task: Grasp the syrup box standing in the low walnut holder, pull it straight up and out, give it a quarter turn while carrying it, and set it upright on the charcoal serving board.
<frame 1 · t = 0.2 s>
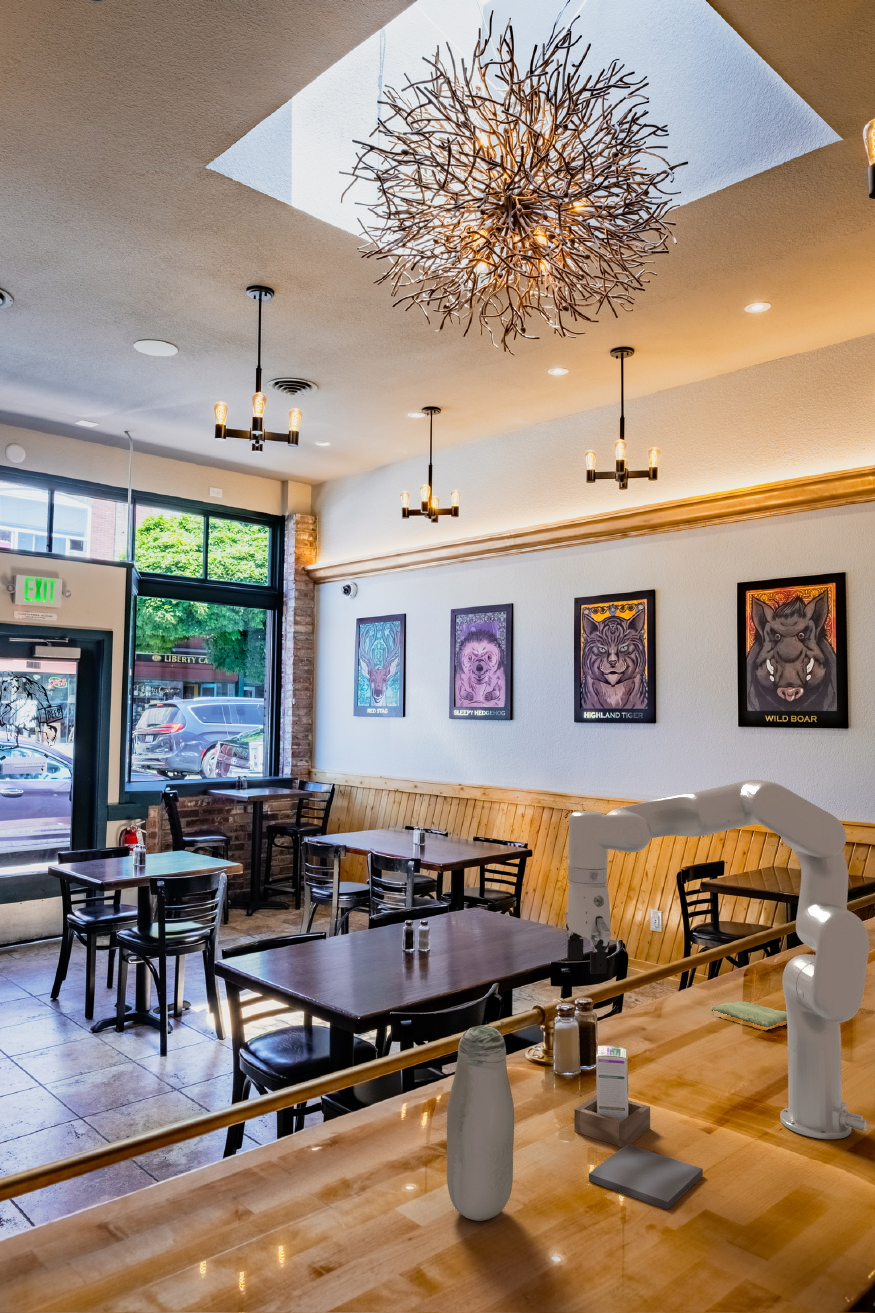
hand: (586, 966, 173), 30 cm above the bar counter, tool pointing down, fingers open, 9 cm apart
washcloth: (750, 1021, 236), on the bar counter
serving board: (646, 1178, 152), on the bar counter
white bottle: (479, 1215, 140), on the bar counter
syrup box: (612, 1131, 170), resting in walnut holder
walnut holder: (612, 1130, 170), on the bar counter
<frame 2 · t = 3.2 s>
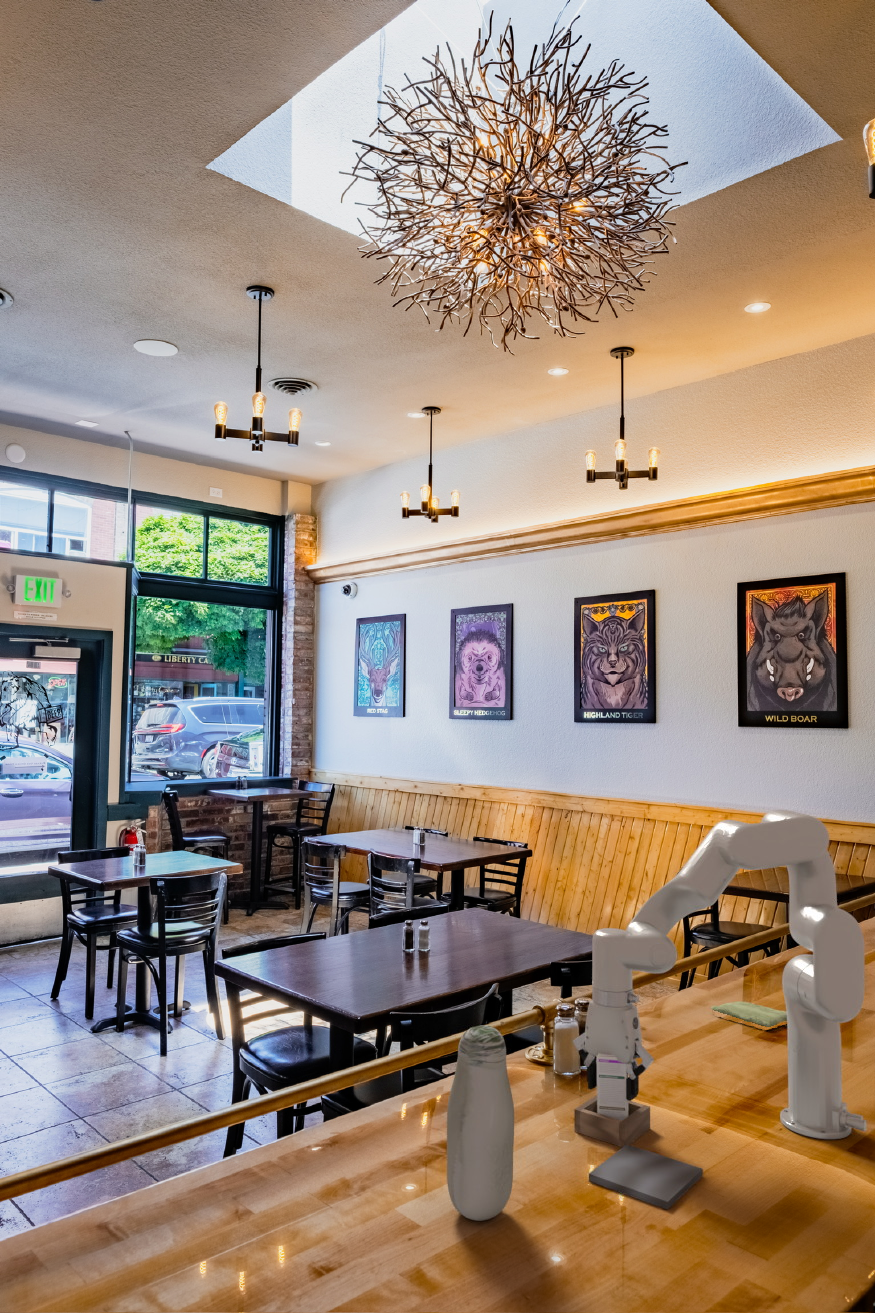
hand: (612, 1092, 170), 7 cm above the bar counter, tool pointing down, fingers closed on syrup box, 7 cm apart
syrup box: (612, 1131, 170), resting in walnut holder, touching gripper
everything else where it was.
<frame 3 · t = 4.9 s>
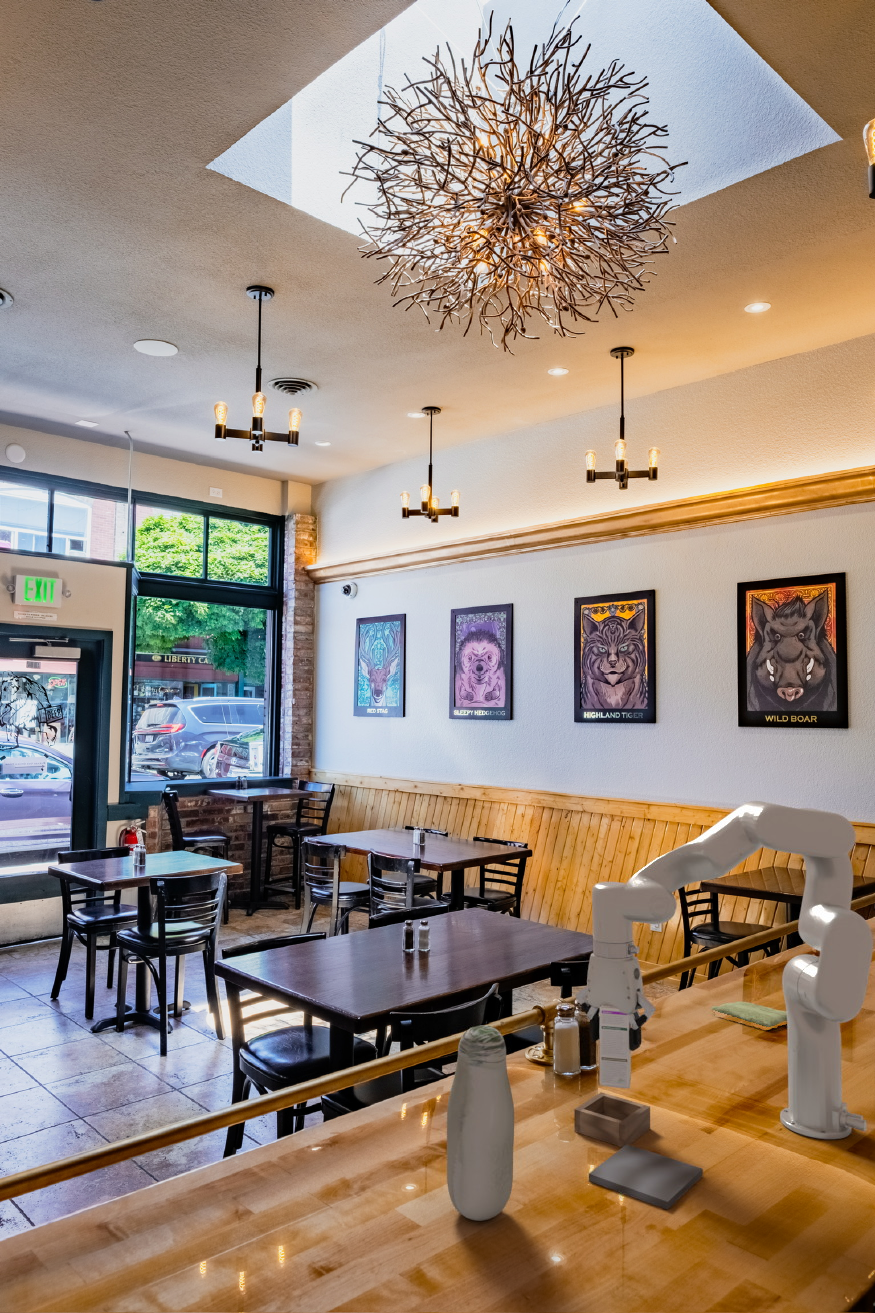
hand: (615, 1043, 171), 16 cm above the bar counter, tool pointing down, fingers closed on syrup box, 7 cm apart
syrup box: (614, 1083, 170), point 9 cm above the bar counter, touching gripper
everything else where it was.
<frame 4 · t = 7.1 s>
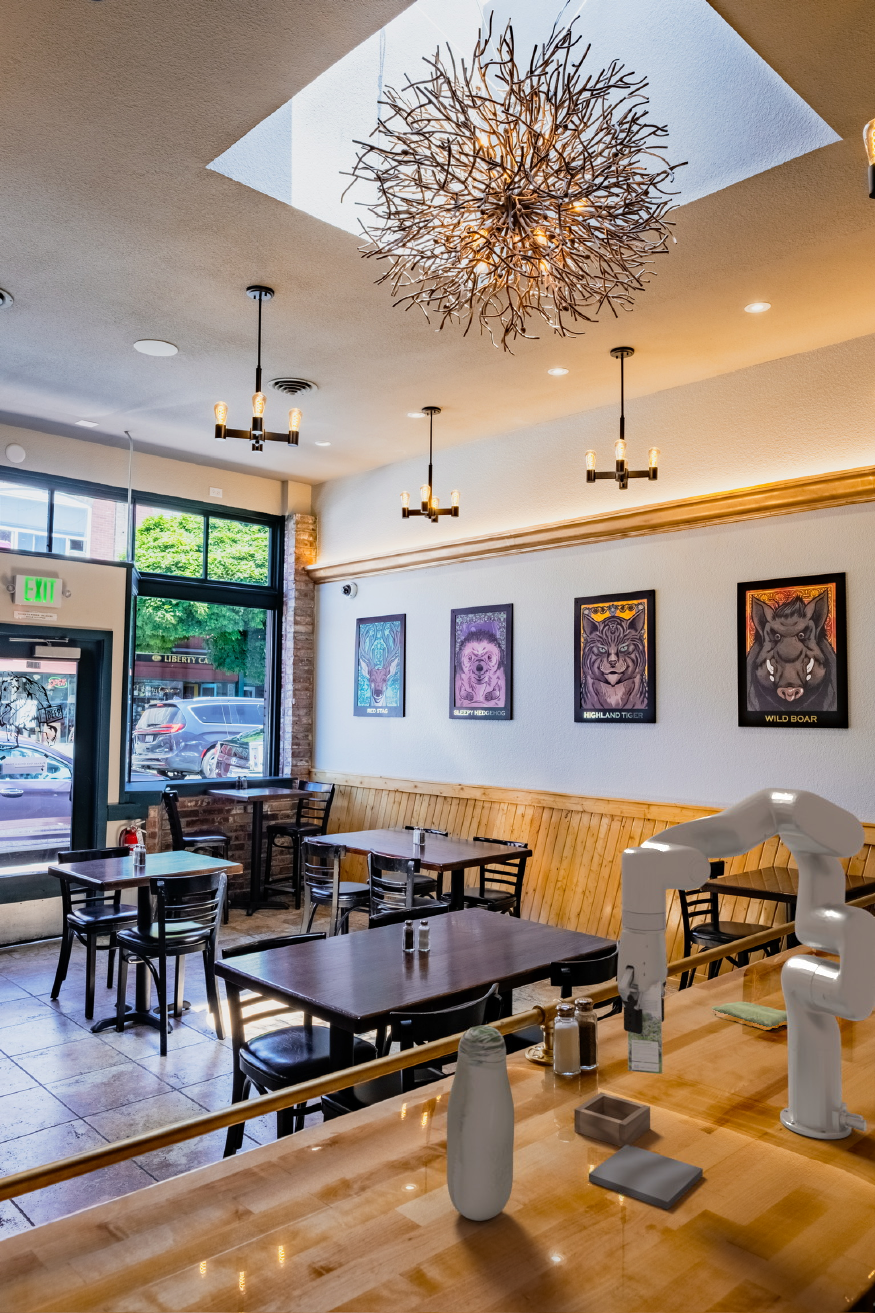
hand: (644, 1025, 154), 25 cm above the bar counter, tool pointing down, fingers closed on syrup box, 7 cm apart
syrup box: (645, 1069, 153), point 18 cm above the bar counter, touching gripper
everything else where it was.
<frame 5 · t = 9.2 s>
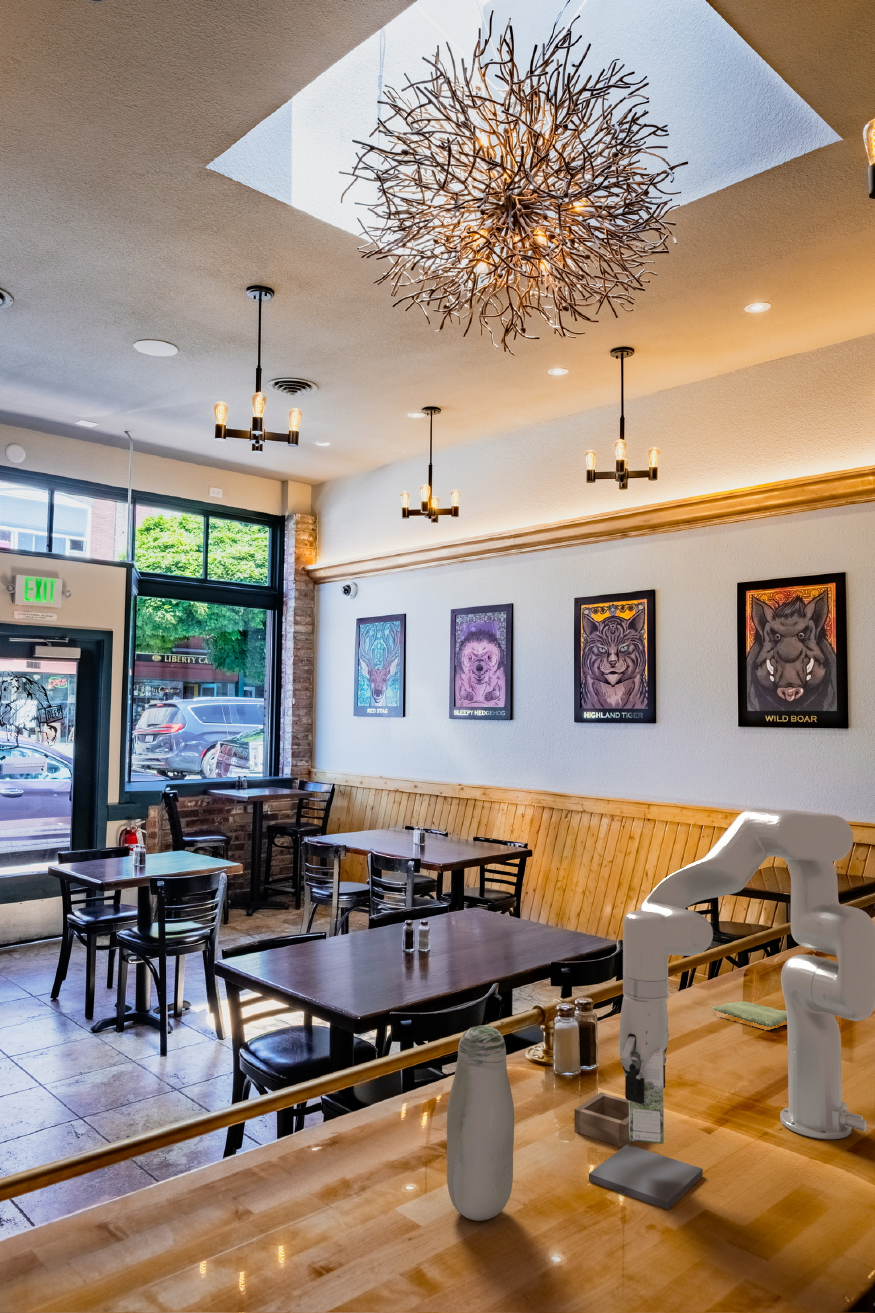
hand: (645, 1093, 153), 14 cm above the bar counter, tool pointing down, fingers closed on syrup box, 7 cm apart
syrup box: (646, 1138, 152), point 7 cm above the bar counter, touching gripper
everything else where it was.
when the fingers open (9 cm above the bar counter, at t = 11.2 s): syrup box stays where it is, resting on serving board.
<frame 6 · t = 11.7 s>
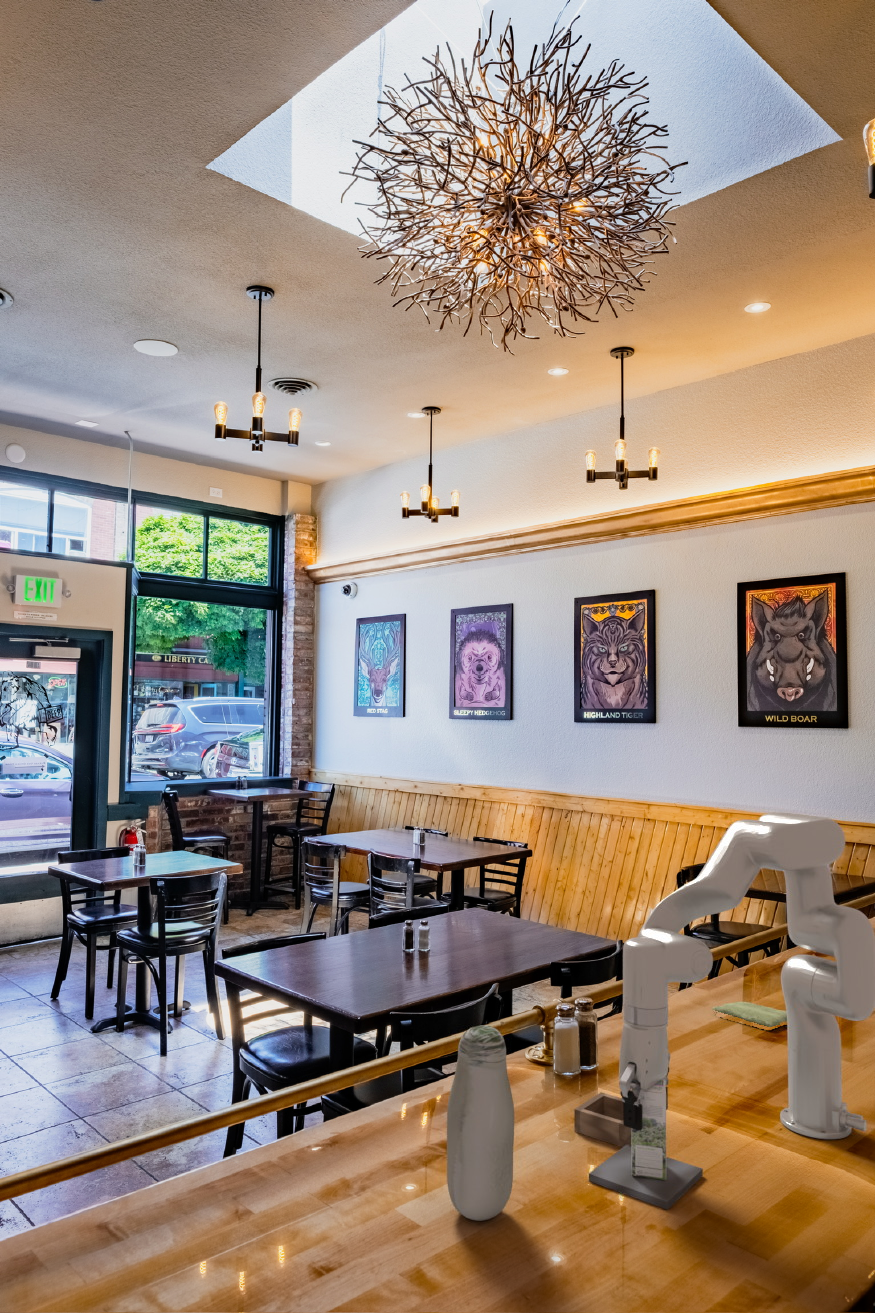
hand: (645, 1118, 152), 10 cm above the bar counter, tool pointing down, fingers open, 9 cm apart
syrup box: (649, 1172, 152), point 1 cm above the bar counter, touching serving board
everything else where it was.
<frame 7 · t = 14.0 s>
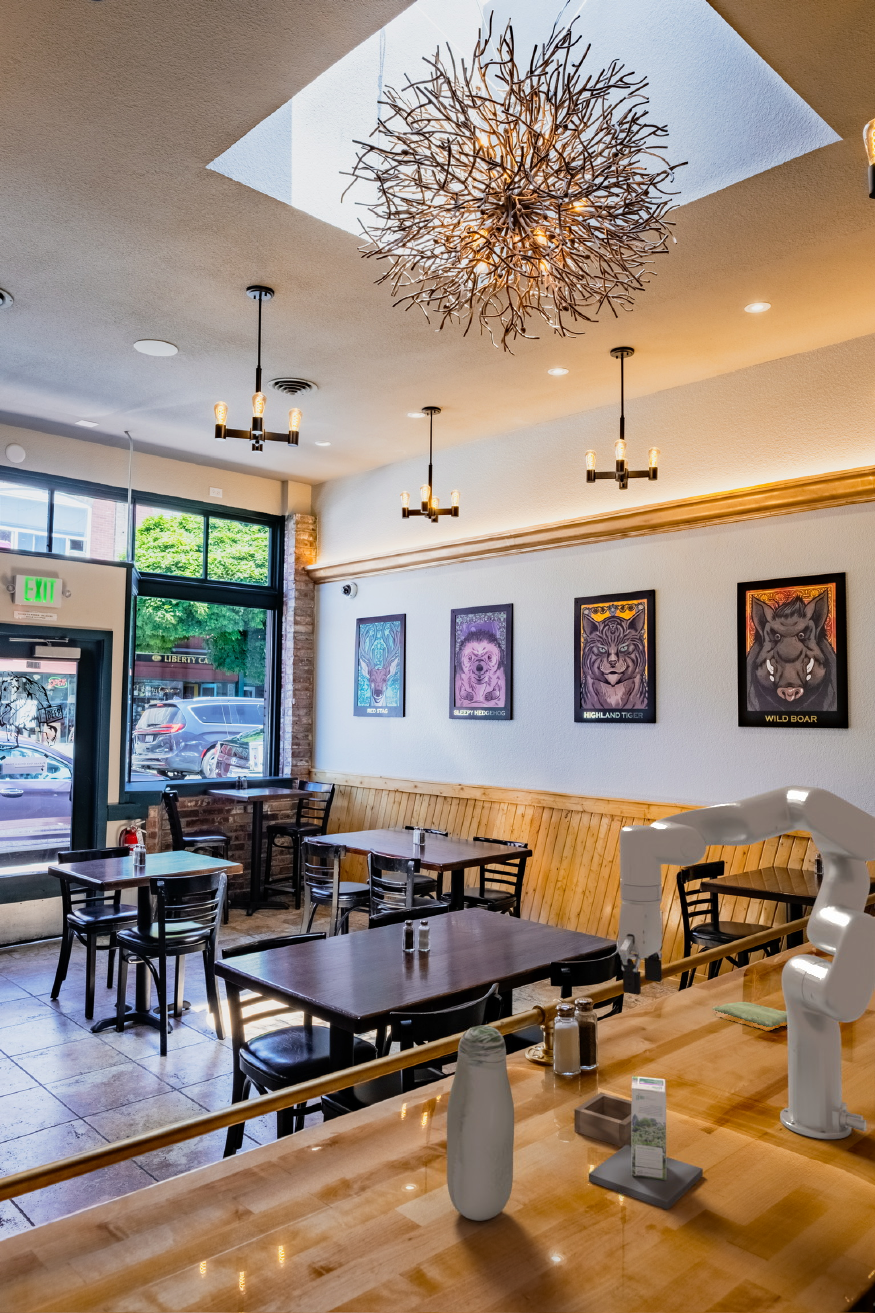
hand: (642, 986, 167), 28 cm above the bar counter, tool pointing down, fingers open, 9 cm apart
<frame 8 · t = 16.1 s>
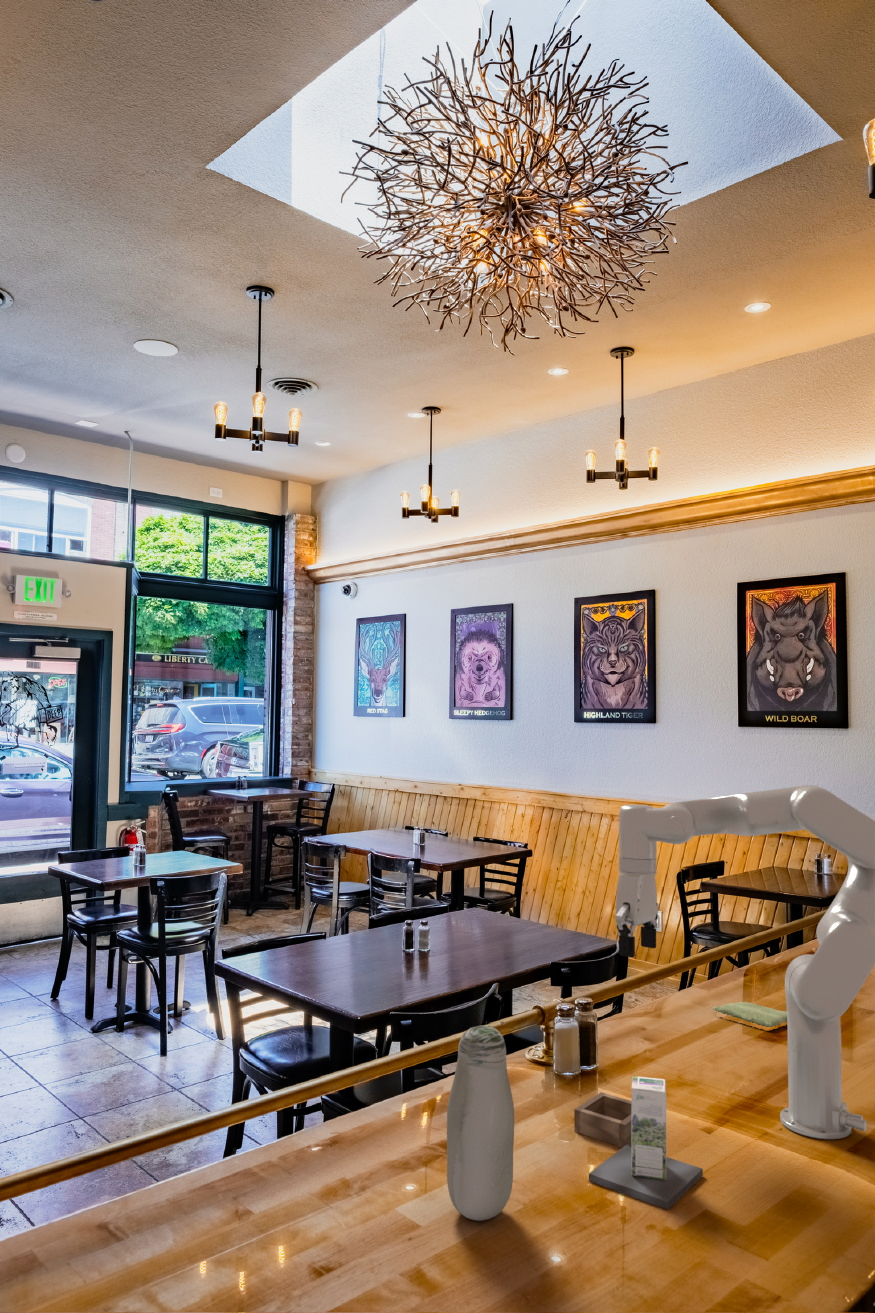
hand: (638, 951, 183), 30 cm above the bar counter, tool pointing down, fingers open, 9 cm apart
at the end: syrup box inside the target area on the serving board (0.5 cm from its centre), point 1.0 cm above the serving board's base; syrup box tilted 0°; the gripper is holding nothing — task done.
